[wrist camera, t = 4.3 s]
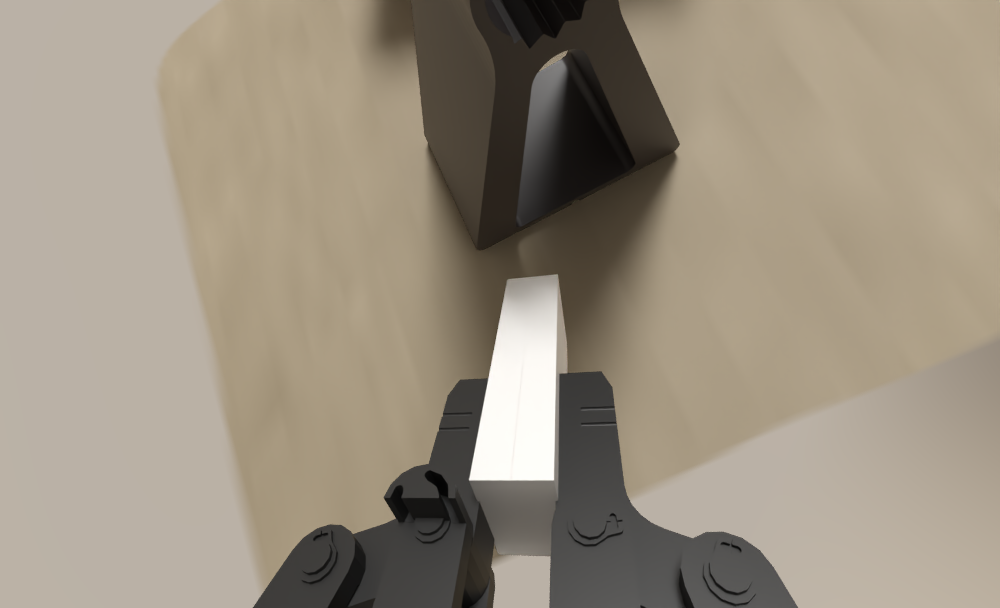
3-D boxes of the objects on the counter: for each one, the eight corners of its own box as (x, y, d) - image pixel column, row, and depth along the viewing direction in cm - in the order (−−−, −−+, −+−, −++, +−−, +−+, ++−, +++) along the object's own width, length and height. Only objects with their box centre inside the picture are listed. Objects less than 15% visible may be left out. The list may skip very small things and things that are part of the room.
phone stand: (609, 38, 19) (632, -513, 7) (678, 150, 17) (847, -305, 6) (427, 139, 20) (189, -191, 8) (478, 252, 18) (278, 47, 7)
